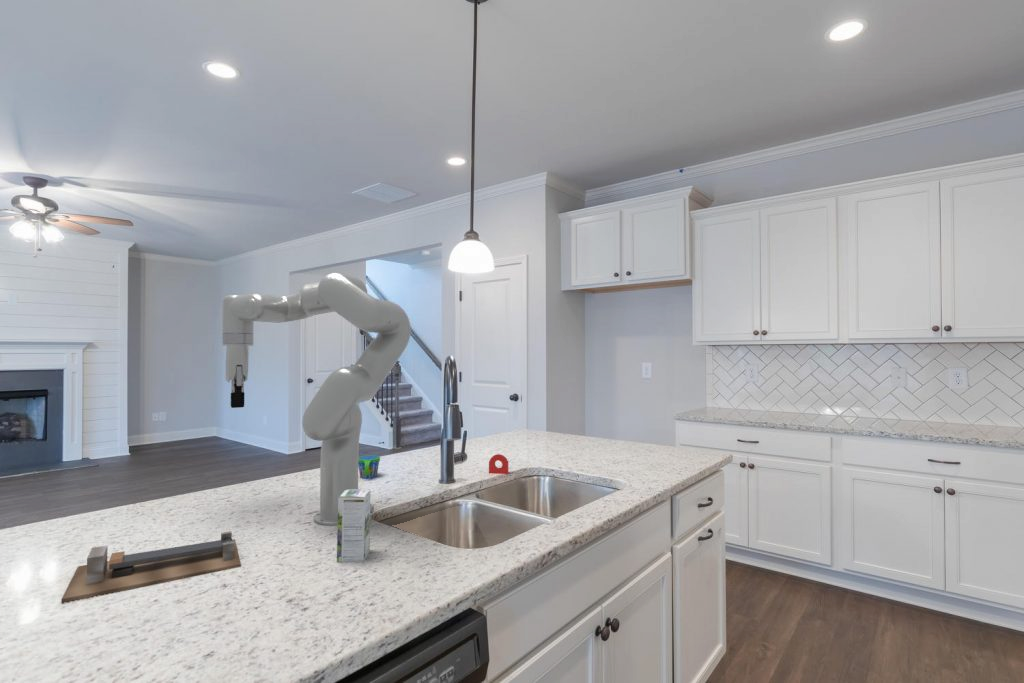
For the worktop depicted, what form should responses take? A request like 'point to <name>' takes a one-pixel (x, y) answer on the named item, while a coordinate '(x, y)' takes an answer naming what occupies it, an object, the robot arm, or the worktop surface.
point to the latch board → (144, 571)
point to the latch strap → (165, 554)
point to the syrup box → (353, 525)
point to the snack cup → (368, 466)
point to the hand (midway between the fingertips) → (237, 407)
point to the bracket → (493, 467)
